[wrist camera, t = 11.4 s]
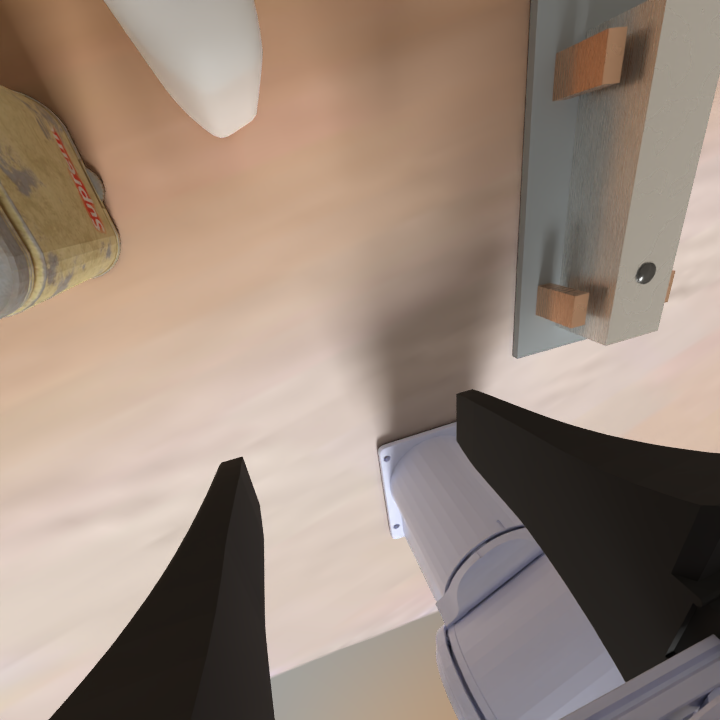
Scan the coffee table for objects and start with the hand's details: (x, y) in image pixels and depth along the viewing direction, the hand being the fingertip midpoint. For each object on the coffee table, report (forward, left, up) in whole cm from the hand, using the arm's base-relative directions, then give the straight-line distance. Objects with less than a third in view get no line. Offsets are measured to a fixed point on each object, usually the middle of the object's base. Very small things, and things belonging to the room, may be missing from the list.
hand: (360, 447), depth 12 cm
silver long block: (+5, -19, -10) cm, 22 cm away
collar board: (+5, -19, -10) cm, 22 cm away
